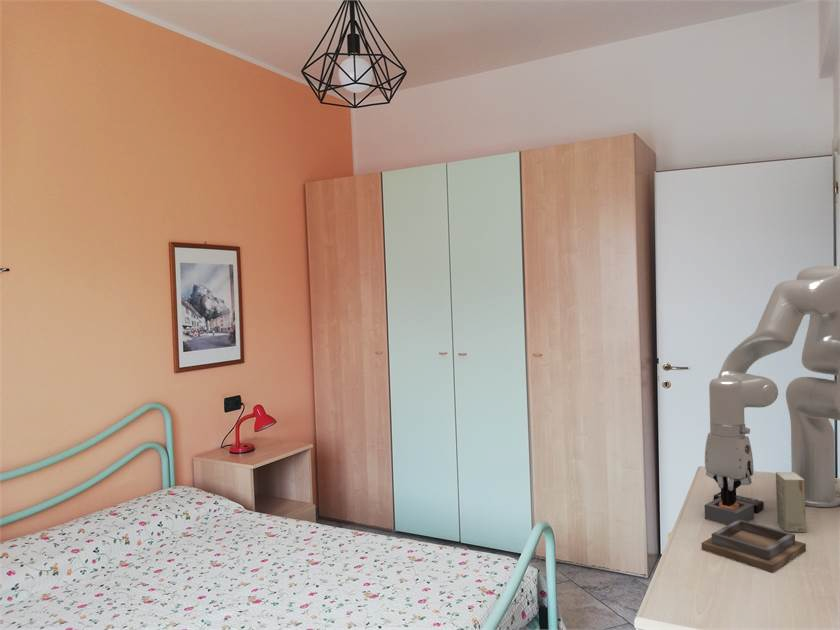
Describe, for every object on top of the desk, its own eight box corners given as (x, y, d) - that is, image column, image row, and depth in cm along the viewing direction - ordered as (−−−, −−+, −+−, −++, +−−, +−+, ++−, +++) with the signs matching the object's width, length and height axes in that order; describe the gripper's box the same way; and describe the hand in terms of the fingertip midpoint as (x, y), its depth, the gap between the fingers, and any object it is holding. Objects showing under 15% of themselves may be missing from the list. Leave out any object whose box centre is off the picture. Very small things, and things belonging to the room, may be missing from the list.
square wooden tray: (736, 530, 150) (735, 515, 150) (805, 550, 138) (805, 534, 138) (701, 549, 141) (701, 533, 141) (772, 572, 129) (772, 555, 129)
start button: (725, 509, 160) (724, 499, 160) (742, 514, 157) (742, 504, 157) (715, 514, 158) (715, 504, 157) (733, 519, 154) (733, 508, 154)
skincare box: (806, 532, 147) (805, 480, 146) (785, 532, 148) (784, 479, 147) (796, 522, 153) (795, 471, 153) (776, 521, 154) (775, 471, 153)
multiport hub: (756, 515, 160) (756, 505, 159) (713, 504, 168) (712, 495, 168) (764, 510, 162) (764, 501, 162) (721, 499, 171) (721, 491, 171)
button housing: (721, 510, 163) (721, 496, 163) (754, 518, 156) (753, 504, 156) (704, 518, 158) (704, 504, 158) (737, 527, 152) (737, 513, 151)
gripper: (766, 431, 152) (767, 508, 153) (705, 422, 164) (707, 493, 165) (750, 438, 148) (752, 516, 149) (689, 427, 159) (691, 500, 161)
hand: (728, 504), depth 157 cm, fingers closed
